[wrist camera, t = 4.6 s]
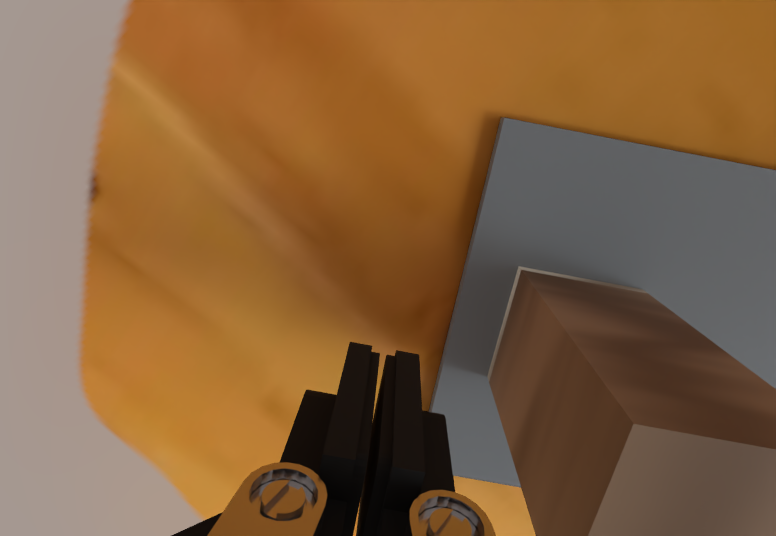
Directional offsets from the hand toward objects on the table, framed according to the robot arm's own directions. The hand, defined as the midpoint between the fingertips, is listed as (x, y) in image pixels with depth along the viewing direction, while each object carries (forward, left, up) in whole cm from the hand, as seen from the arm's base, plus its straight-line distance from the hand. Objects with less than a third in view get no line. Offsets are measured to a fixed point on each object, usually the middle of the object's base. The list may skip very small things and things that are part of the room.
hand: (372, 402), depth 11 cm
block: (-7, 0, -6) cm, 9 cm away
